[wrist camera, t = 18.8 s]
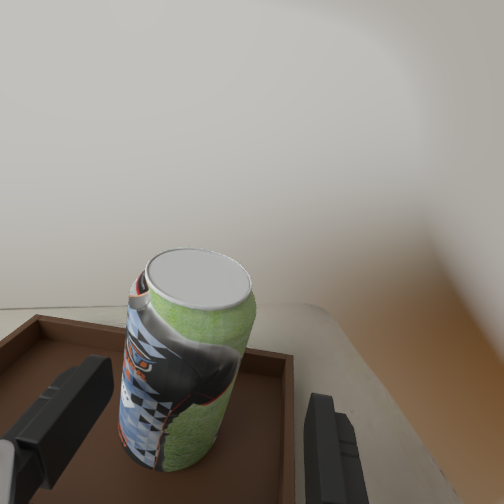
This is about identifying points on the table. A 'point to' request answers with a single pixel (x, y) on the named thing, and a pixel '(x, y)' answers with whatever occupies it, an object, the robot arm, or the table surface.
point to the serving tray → (106, 427)
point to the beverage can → (182, 355)
